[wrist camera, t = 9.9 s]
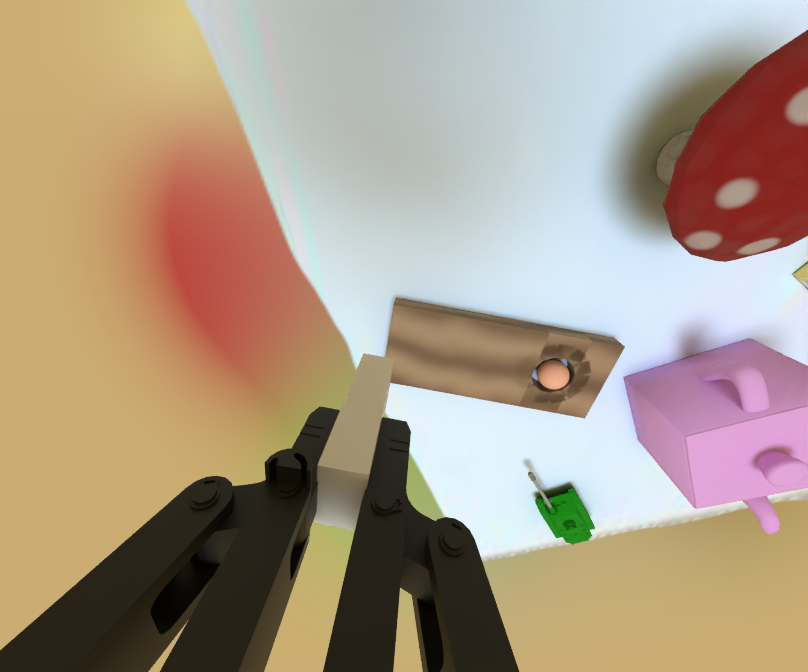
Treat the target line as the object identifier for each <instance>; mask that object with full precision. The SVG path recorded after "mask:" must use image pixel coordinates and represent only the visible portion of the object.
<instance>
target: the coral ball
mask: <svg viewBox="0 0 808 672" xmlns="http://www.w3.org/2000/svg"><path fill="white" fill-rule="evenodd" d="M537 377H538V380H539V381H540V383H541V384H542V385H543V386H545V387H546V388H549V389H560V388H562V387H564V386H565V385H566V384H567V382H568V380H569V371H568V369H567V367H566V366H565V365H564V364H563V363H561V362H559V361H556V360H549V361H546V362H544V363H542V364H541V365H540V367H539V368H538V371H537Z"/></svg>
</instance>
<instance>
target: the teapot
mask: <svg viewBox="0 0 808 672" xmlns="http://www.w3.org/2000/svg"><path fill="white" fill-rule="evenodd" d="M623 378H624V382H625V386H626V390H627V395H628V399H629V403H630V407H631V411H632V416H633V420H634V424H635V428H636V433H637V437H638V440H639V442H640V443H641V444H642V445H643V446H644V448H645V449H646V450H647V451H648V452H649V454H650V455H651V456H652V457H653V458H654V460H655V461H656V462H657V463H658V465H659V466H660V467H661V468H662V469H663V471H664V472H665V473H666V474H667V475H668V477H669V478H670V479H671V480H672V481H673V483H674V484H675V485H676V486H677V488H678V489H679V490H680V491H681V492H682V494H683V495H684V496H685V497H686V498H687V500H688V501H689V502H690V503H691V504H692V506H693V507H694V508H696V509H697V508H703V507H709V506H714V505H720V504H725V503H731V502H736V501H741V500H742V501H743V502H744V503H745V504H746V505H747V506H748V507H749V508H750V509H751V510H752V512H753V513H754V514H755V516H756V517H757V519H758V521H759V522H760V524H761V526H762V528H763V529H764V531H765V532H767V533H768V534H774V533H776V532H777V531H778V530H779V528H780V521H779V518H778V516H777V514H776V512H775V510H774V508H773V507H772V505H771V503H770V501H769V500H768V498H767V495H773V494H778V493H783V492H788V491H793V490H798V489H803V488H808V366H806V365H804V364H802V363H800V362H798V361H796V360H794V359H791V358H789V357H787V356H785V355H783V354H781V353H779V352H777V351H774V350H772V349H770V348H768V347H766V346H764V345H762V344H760V343H757V342H755V341H753V340H751V339H746V340H743V341H739V342H736V343H733V344H730V345H726V346H723V347H720V348H717V349H713V350H710V351H707V352H704V353H700V354H697V355H694V356H691V357H687V358H684V359H681V360H678V361H674V362H671V363H668V364H665V365H662V366H658V367H655V368H652V369H649V370H645V371H642V372H639V373H636V374H632V375H629V376H626V377H623Z"/></svg>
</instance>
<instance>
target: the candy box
mask: <svg viewBox="0 0 808 672" xmlns="http://www.w3.org/2000/svg"><path fill="white" fill-rule="evenodd" d="M793 275H794V276H795V277H796V278H797V279H798V280H799V281H801V282H802V283H803V284H804V285H805V286H806V287H807V288H808V263H807V264H806V265H804V266H803V267H802V268H801V269H799V270H798V271H797V272H795V273H794V274H793Z"/></svg>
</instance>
